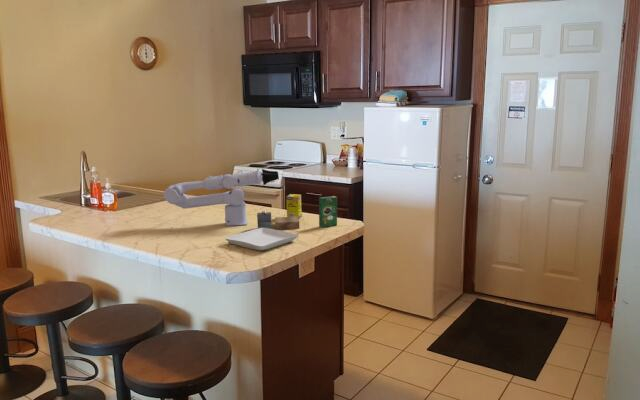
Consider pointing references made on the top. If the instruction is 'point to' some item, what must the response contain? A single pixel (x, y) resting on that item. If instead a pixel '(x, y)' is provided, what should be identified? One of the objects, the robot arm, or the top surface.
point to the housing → (264, 220)
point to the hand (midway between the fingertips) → (278, 175)
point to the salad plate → (262, 238)
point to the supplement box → (294, 205)
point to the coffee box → (327, 211)
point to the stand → (287, 222)
